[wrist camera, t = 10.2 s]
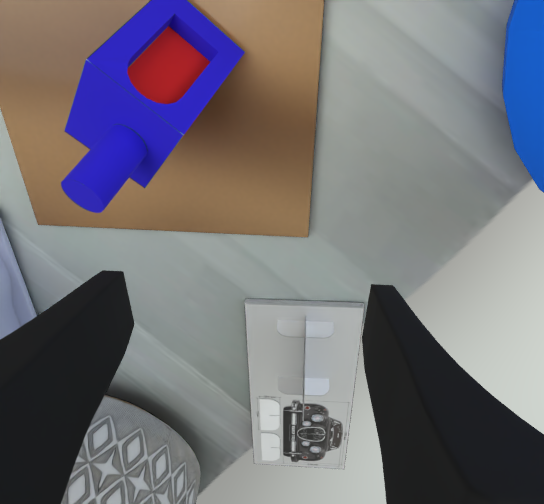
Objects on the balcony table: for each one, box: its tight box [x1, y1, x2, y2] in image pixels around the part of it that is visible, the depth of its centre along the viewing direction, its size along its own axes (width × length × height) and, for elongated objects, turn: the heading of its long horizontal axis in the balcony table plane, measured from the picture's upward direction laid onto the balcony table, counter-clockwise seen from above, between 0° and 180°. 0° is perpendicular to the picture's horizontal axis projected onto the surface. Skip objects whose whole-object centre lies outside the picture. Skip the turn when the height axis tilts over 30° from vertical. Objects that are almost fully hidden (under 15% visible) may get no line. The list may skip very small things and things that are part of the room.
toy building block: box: [61, 0, 245, 213], centre depth 16 cm, size 4×4×8 cm
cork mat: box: [0, 0, 324, 237], centre depth 19 cm, size 14×14×1 cm
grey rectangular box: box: [245, 299, 364, 469], centre depth 27 cm, size 15×7×4 cm, turn 1°
